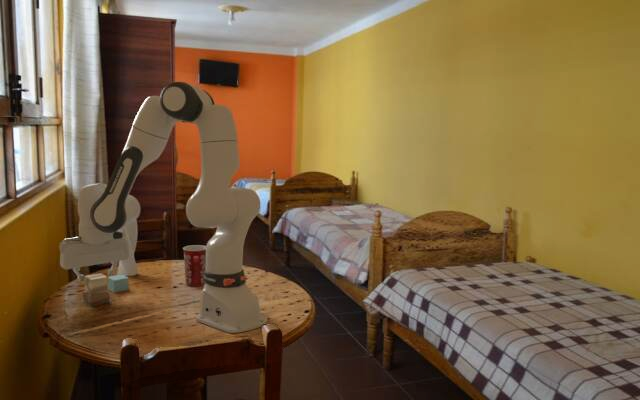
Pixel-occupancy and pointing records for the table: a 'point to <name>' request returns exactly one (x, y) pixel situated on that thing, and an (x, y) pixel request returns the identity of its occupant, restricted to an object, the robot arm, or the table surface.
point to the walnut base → (95, 298)
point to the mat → (95, 304)
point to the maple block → (96, 284)
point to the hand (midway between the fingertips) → (96, 277)
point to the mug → (194, 264)
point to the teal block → (118, 283)
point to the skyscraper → (129, 264)
